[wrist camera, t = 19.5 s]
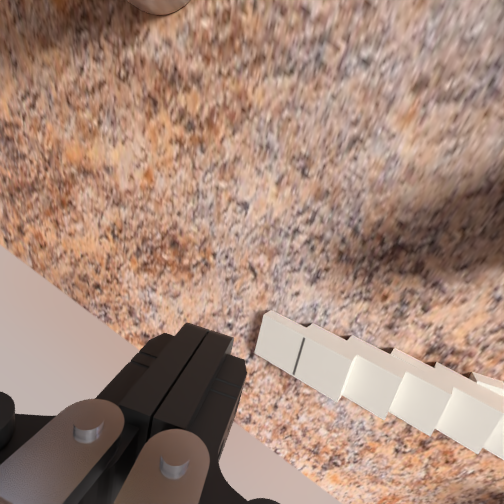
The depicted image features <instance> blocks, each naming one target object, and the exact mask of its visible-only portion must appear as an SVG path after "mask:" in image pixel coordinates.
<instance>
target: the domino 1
mask: <svg viewBox="0 0 504 504" xmlns="http://www.w3.org/2000/svg"><path fill="white" fill-rule="evenodd" d="M254 353H255V354H257V355H258V356H260V357H262V358H263V359H265V360H267V361H268V362H270V363H272V364H273V365H275V366H277V367H278V368H280V369H282V370H283V371H285V372H287V373H288V374H290V375H292V376H293V377H295V378H297V379H298V380H300V381H302V382H303V383H305V384H307V385H308V386H310V387H312V388H313V389H315V390H317V391H318V392H320V393H322V394H323V395H325V396H327V397H328V398H330V399H332V400H333V401H335V402H338V401H339V399H340V398H341V396H342V395H343V392H344V389H345V387H346V384H347V381H348V378H349V376H350V373H351V370H352V367H353V365H354V362H355V359H356V356H357V353H355V352H353V351H351V350H349V349H347V348H345V347H343V346H341V345H339V344H337V343H335V342H333V341H331V340H329V339H327V338H326V337H324V336H322V335H320V334H318V333H316V332H314V331H312V330H310V329H308V328H306V327H304V326H302V325H300V324H298V323H296V322H294V321H292V320H290V319H288V318H286V317H284V316H282V315H280V314H278V313H276V312H275V311H273V310H270V311H269V312H267V313H265V314H264V315H263V319H262V324H261V328H260V332H259V336H258V340H257V344H256V348H255V352H254Z"/></svg>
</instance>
